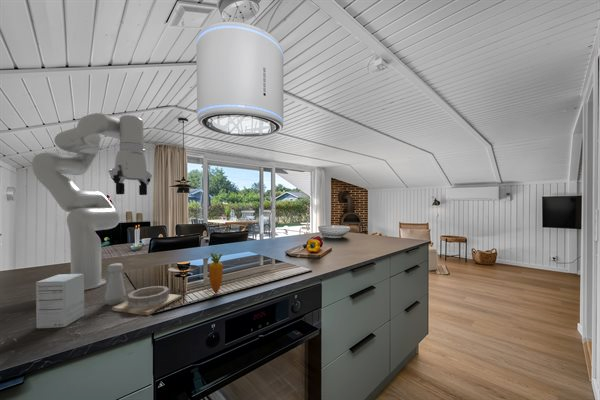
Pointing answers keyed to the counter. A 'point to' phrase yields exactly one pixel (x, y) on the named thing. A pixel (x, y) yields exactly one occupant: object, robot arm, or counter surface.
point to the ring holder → (146, 300)
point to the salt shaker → (115, 285)
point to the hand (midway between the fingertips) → (132, 194)
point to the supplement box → (59, 300)
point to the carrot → (215, 272)
